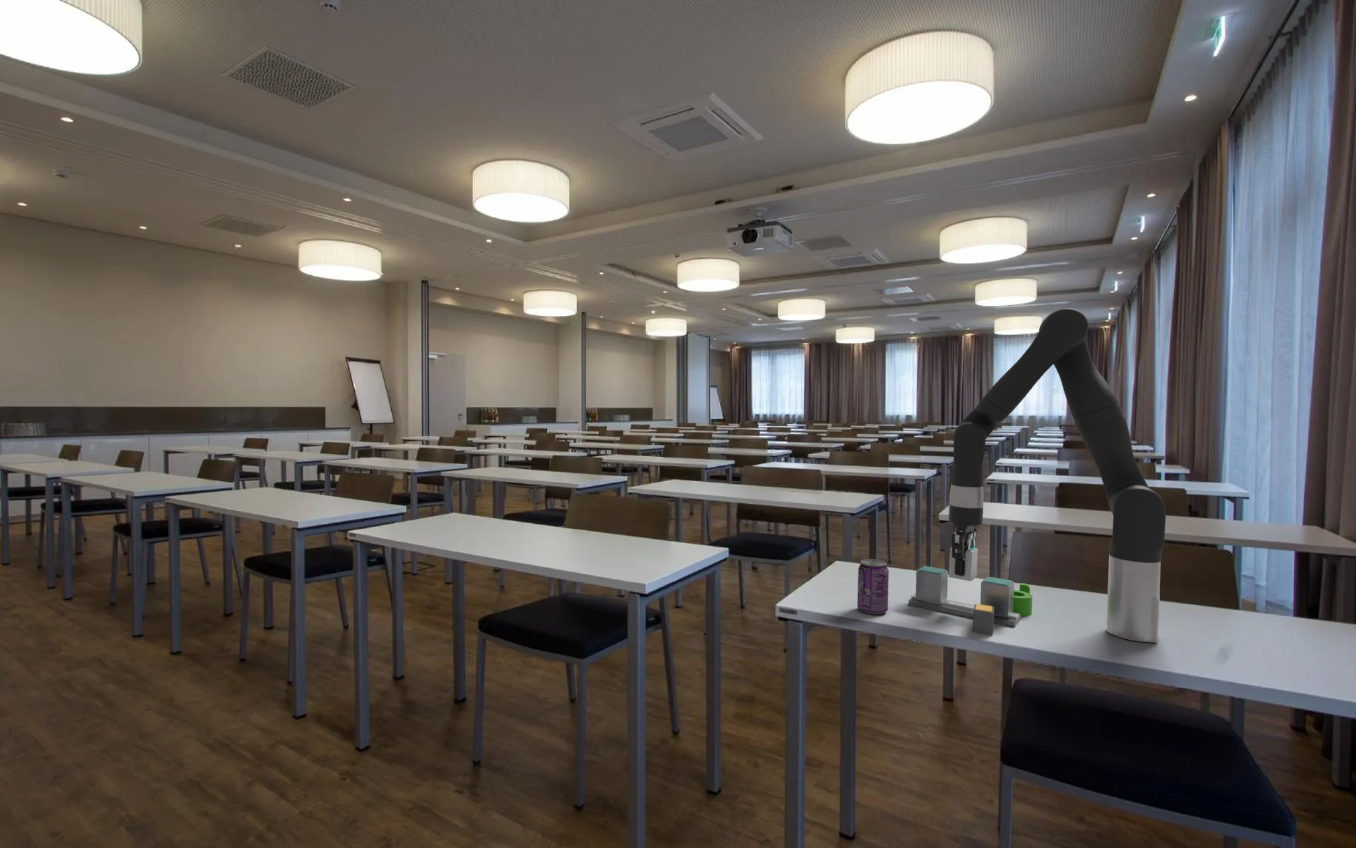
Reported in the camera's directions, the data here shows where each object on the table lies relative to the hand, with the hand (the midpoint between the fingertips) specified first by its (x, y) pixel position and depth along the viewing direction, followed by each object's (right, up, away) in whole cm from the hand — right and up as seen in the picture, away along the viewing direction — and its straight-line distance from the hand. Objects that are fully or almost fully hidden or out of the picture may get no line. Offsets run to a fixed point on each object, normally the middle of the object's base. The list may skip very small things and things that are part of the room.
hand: (963, 572), depth 152 cm
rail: (0, -10, 0) cm, 10 cm away
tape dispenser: (+15, -10, +5) cm, 19 cm away
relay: (-1, -10, -12) cm, 16 cm away
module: (0, -1, 0) cm, 1 cm away
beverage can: (-22, -9, 0) cm, 24 cm away
